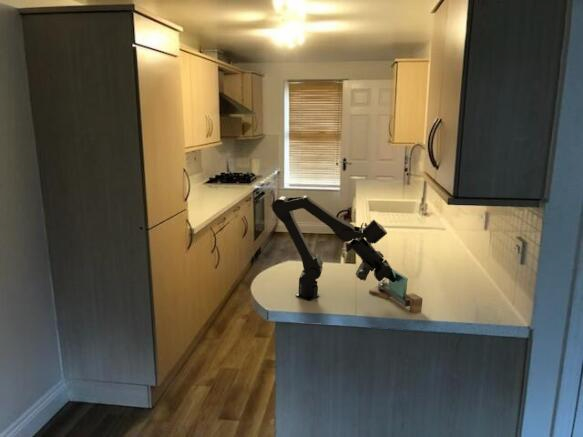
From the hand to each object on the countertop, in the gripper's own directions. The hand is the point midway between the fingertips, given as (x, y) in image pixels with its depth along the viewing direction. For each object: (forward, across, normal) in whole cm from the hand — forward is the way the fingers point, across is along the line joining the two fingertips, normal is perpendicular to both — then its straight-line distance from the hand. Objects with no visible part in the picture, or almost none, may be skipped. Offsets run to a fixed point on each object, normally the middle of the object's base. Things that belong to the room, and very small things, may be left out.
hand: (394, 281), depth 165 cm
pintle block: (+4, -8, -7) cm, 12 cm away
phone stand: (+5, -72, -6) cm, 73 cm away
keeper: (+9, +7, -2) cm, 12 cm away
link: (+5, -2, -4) cm, 7 cm away
